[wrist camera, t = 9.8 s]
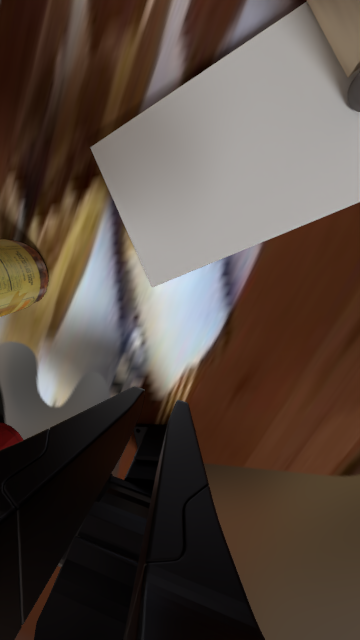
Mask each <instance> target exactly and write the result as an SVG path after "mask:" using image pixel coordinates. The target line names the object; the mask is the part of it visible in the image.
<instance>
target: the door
mask: <svg viewBox="0 0 360 640" xmlns="http://www.w3.org/2000/svg"><path fill="white" fill-rule="evenodd" d="M307 2H308V4H309V6H310V8H311V10H312V11H313V13H314V15H315V17H316V19H317V21H318V23H319V25H320V26H321V28H322V30H323V32H324V34H325V36H326V38H327V40H328V42H329V43H330V45H331V47H332V49H333V51H334V53H335V55H336V57H337V58H338V60H339V62H340V64H341V66H342V68H343V70H344V72H345V74H346V75H347V77H350V76H351V75H352V74H353V73H354V72H356V71H357V70H358V69H359V68H360V0H307ZM347 99H348V103H349V105H350V107H351V108H352V109H353V110H355V111H357V112H360V71H359V73H358V74H357V75H356V77H355V78H354V79H353V81H352V82H351V84H350V86H349V89H348V94H347Z"/></svg>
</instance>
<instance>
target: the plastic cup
mask: <svg viewBox="0 0 360 640" xmlns="http://www.w3.org/2000/svg"><path fill="white" fill-rule="evenodd" d="M21 441H23V438H22V437H21V436H20V434H19V433H18V432H17V431H16V430H15V429H14V428H12V427H11V426H9V425H7V424H5V423H0V450H2V449H4V448H7V447H9V446H12V445H14V444H16V443H19V442H21Z"/></svg>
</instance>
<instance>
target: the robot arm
mask: <svg viewBox="0 0 360 640" xmlns="http://www.w3.org/2000/svg"><path fill="white" fill-rule="evenodd" d="M144 396H145V390H144V389H142V388H139V387H132V388H130V389H128V390H126V391H124V392H122V393H120V394H118V395H116V396H114V397H112V398H110V399H107V400H106V401H103V402H101V403H99V404H97V405H95V406H93V407H91V408H89V409H87V410H85V411H83V412H81V413H79V414H77V415H75V416H73V417H71V418H69V419H67V420H65V421H63V422H61V423H59V424H57V425H54V426H52V427H51V428H50V430H49V429H46V430H44V431H42V432H40V433H38V434H36V435H34V436H32V437H29V438H27V439H25V440H23V441H21V442H19V443H16V444H14V445H12V446H9V447H7V448H4V449H2V450H0V640H15V638H16V636H17V634H18V633H19V631H20V629H21V625H23V624H24V622H25V620H26V619H27V617H28V615H29V613H30V612H31V610H32V608H33V607H34V605H35V603H36V602H37V600H38V598H39V596H40V595H41V593H42V591H43V590H44V588H45V586H46V584H47V583H48V581H49V579H50V578H51V576H52V574H53V572H54V571H55V569H56V567H57V565H58V566H60V567H61V569H60V571H59V574H58V576H57V578H56V581H55V583H54V586H53V588H52V590H51V593H50V595H49V597H48V600H47V602H46V604H45V606H44V608H43V610H42V612H41V614H40V616H39V618H38V621H37V625H36V630H35V637H34V640H265V638H264V636H263V634H262V632H261V630H260V628H259V626H258V624H257V622H256V619H255V617H254V614H253V612H252V609H251V607H250V604H249V601H248V599H247V596H246V593H245V591H244V588H243V585H242V583H241V580H240V577H239V575H238V572H237V569H236V567H235V564H234V561H233V559H232V556H231V553H230V551H229V548H228V545H227V543H226V540H225V537H224V534H223V531H222V528H221V525H220V523H219V520H218V516H217V513H216V509H215V506H214V502H213V499H212V495H211V491H210V487H209V483H208V479H207V475H206V471H205V467H204V464H203V460H202V456H201V452H200V448H199V444H198V440H197V436H196V431H195V428H194V424H193V420H192V416H191V412H190V408H189V405H188V403H187V402H183V401H180V400H177V401H176V404H175V406H174V408H173V411H172V413H171V416H170V418H169V421H168V424H167V425H150V424H137V425H136V423H137V421H138V418H139V416H140V414H141V411H142V407H143V401H144ZM135 425H136V426H135ZM134 427H135V428H134ZM138 429H139V430H138ZM133 430H134V434H135V438H136V443H137V447H138V449H137V451H136V454H135V456H134V459H133V462H132V464H131V466H130V468H129V470H128V472H127V474H126V476H125V480H122V479H120V478H117V477H114V476H113V475H112V474H111V473H112V471H113V470H114V468H115V466H116V464H117V463H118V461H119V459H120V458H121V456H122V454H123V452H124V450H125V448H126V446H127V443H128V441H129V439H130V436H131V434H132V432H133Z"/></svg>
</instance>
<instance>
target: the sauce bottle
mask: <svg viewBox="0 0 360 640" xmlns="http://www.w3.org/2000/svg"><path fill="white" fill-rule="evenodd" d="M47 286H48V272H47V269H46V265H45V263H44V262H43V259H42V258H41V256H40V255H39V253H38V252H37V251H36V250H35V249H33V248H31V247H30V246H29V245H26V244H24V243H21V242H18V241H14V240H6V239H0V317H1V316H4V315H7V314H10V313H13V312H16V311H19V310H22V309H25V308H27V307H29V306H30V305H31V304H33V303H35V302H37V301H39V300H40V299H42V297H43V296H44V294H45V293H46V288H47Z"/></svg>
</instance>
